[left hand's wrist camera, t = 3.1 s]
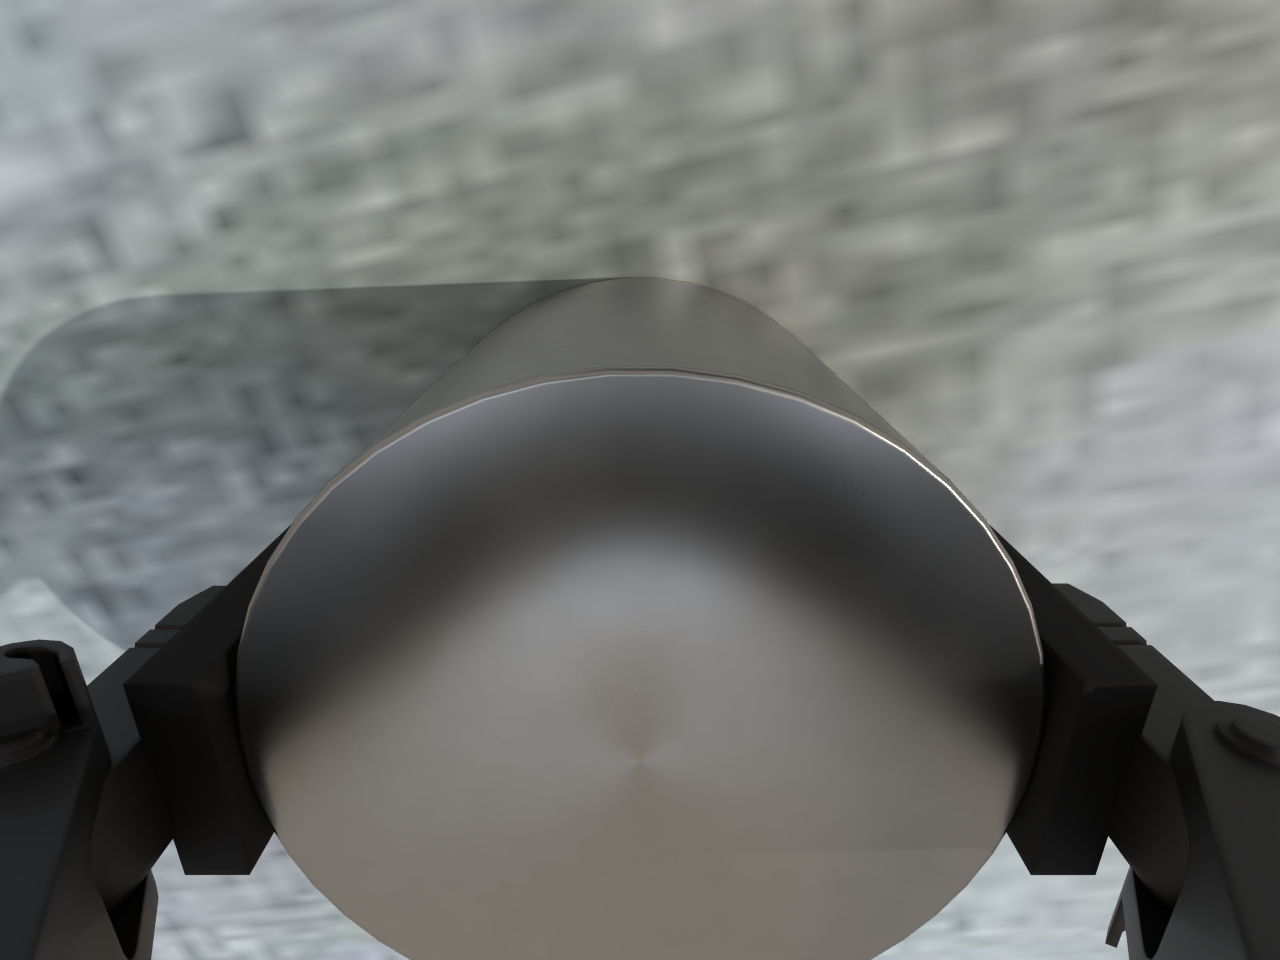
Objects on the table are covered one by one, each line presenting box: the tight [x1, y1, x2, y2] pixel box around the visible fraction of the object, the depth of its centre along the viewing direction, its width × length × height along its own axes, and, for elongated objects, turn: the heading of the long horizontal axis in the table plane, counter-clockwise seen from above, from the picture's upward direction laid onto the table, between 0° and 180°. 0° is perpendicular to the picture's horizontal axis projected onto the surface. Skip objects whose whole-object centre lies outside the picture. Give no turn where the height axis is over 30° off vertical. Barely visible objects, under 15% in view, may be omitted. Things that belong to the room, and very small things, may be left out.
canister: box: [235, 278, 1046, 960], centre depth 12 cm, size 9×9×8 cm
